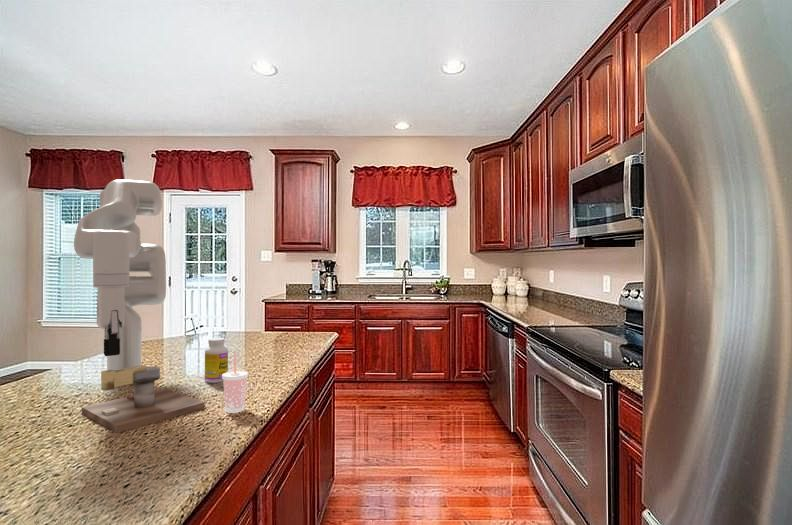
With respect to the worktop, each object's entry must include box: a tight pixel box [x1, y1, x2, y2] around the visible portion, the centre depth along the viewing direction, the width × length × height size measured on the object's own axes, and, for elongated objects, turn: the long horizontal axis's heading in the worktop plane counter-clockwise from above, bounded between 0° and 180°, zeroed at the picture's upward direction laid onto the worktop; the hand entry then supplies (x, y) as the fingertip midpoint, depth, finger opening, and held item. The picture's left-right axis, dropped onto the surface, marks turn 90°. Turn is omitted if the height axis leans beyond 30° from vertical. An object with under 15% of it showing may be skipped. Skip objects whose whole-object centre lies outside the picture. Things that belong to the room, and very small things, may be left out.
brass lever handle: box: [100, 364, 161, 391], centre depth 107 cm, size 13×7×4 cm, turn 151°
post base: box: [81, 381, 206, 434], centre depth 110 cm, size 20×20×7 cm
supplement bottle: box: [204, 337, 229, 384], centre depth 137 cm, size 7×7×13 cm
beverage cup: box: [222, 353, 249, 414], centre depth 111 cm, size 6×6×14 cm
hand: (111, 354), depth 110 cm, fingers closed
